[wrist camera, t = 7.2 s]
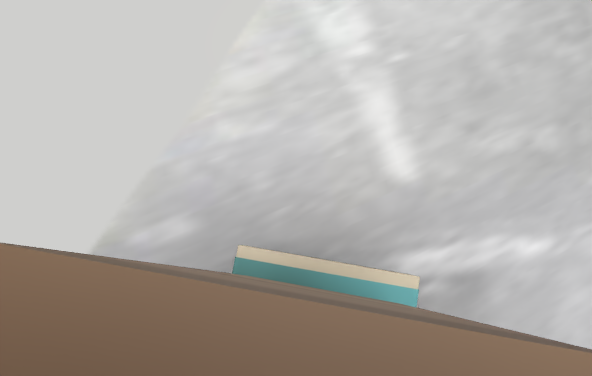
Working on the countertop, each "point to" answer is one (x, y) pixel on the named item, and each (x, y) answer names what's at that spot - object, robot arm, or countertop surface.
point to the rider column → (236, 327)
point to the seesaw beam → (327, 275)
